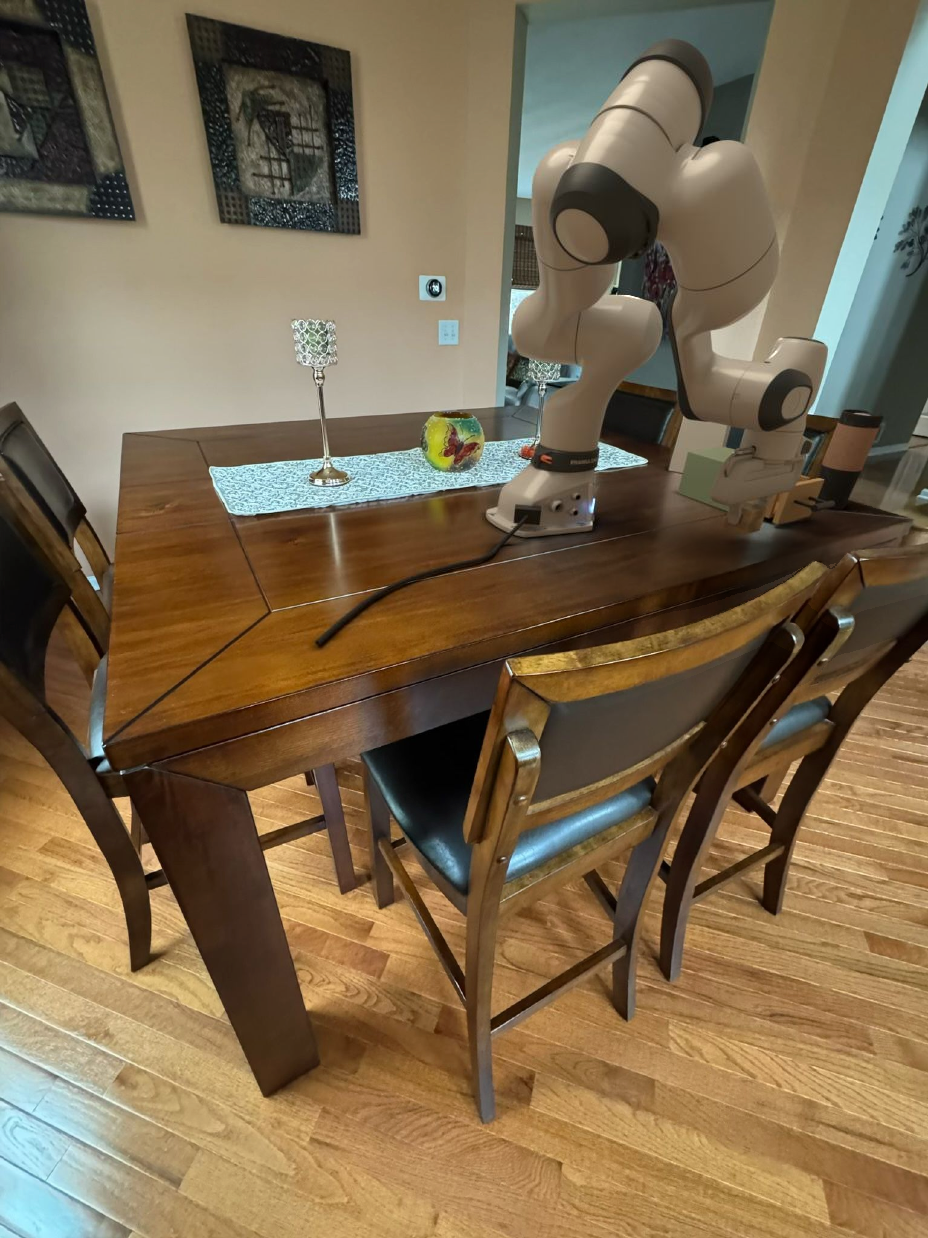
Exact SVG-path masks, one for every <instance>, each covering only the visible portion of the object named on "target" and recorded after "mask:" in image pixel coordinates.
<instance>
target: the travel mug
mask: <svg viewBox="0 0 928 1238" xmlns="http://www.w3.org/2000/svg"><path fill="white" fill-rule="evenodd" d="M884 417H885V414H883V413H879V414H872V413H870V412H869V411H868V410H866V409H865V410H864V409H856V408H855V409H853V408H850V409H849V408H847V409H843V410H842V411H841V414H840V416H839V419H838V421H837V424H836V426H835V428H834V429H835V430H834V431H833V434H832V437H831V439H830V442H829V444H828V447H827V449H826V452H825V454H824V457H823V460H822V461H821V465H820V468H819V471H818V473H817V475H816V479H817V478H821V479H824V482H823V485H822V487H821V490H820V493H819V495H818V498H817V499H821V500H824V501H834V502H835V505H834V507H832V508H828V509H827V510H834V511H835V510H837V511H838V510H839V511H840V510H844V508H845V507H846V505H847V503H848V501H849V499H850V496H851V494H852V493H853V490H854V488H855V486H856V483H857V481H858V479H859V477H860V475H861V474H862V471H863V468H864V466H865V463H866V460H867V459H868V456H869V453H870V452H871V449H872V446H873V444H874V442H875V439H876V436H877V434H878V432H879V429H880V427H881V425H882V422H883V419H884ZM815 504H818V502H816V503H815Z"/></svg>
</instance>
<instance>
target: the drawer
mask: <svg viewBox="0 0 928 1238" xmlns="http://www.w3.org/2000/svg"><path fill="white" fill-rule="evenodd" d="M823 482H824V479H821V478H817V477H816V478H813V479H811V477H809V476H806V475H802V474H801V475H800V478H799V480H798V482H797V484H796V485H795V487H794V488H793V489H792V490H791V491H789V492H785V493H781V494H776V495H773V496H772V499H771V501H770V502H769V504H768V505H767V506H766V507H767V511H766V513H765V516H764V518H767V519H772V518H773V519H772V523H773V524H776V525H780V524H785V523H788V522H792V521H796V520H797V521H798V520H800V519H805V518H808V517H811V516H812V513H816V512H820V511H824V510H829V509H828V508H832V507H834V505H835V502H834V501H824V500H821V499H817V498H818V495H819V493H820V490H821V487H822V485H823ZM756 500H757V499H755V500H750V502H753V503H755V502H756ZM816 502H818V504H815V503H816Z"/></svg>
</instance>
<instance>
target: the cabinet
mask: <svg viewBox="0 0 928 1238" xmlns="http://www.w3.org/2000/svg"><path fill="white" fill-rule="evenodd" d="M734 450H735V449H734V448H730V447H727V446H726V447H719V448H711V449H704V450H697V451H690V452H688V454H687V458H686V462H685V466H684V470H683V473H681V478H680V483H679V486H678V490H677V494H679V495H681V496H684V497H687V498H690V499H693V500H695V501H698V502H701V503H702V504H703V503H704V504H705V505H708V506H711V507H714V508H717V509H719V510H723V511H725V512H727V513H728V510H729V506H726V505H722V504H719V503H717V502H714V501H713V500H712V498H711V491H712V488H713V485H714V483H715V480H716V477H717V475H718V472H719V470H720V468H721V466H722V464H723V462H724V461H725V460H726V459H727V458H728V457H729V456H730V455H731V454H732V453H733V452H734Z"/></svg>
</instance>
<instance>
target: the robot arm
mask: <svg viewBox="0 0 928 1238" xmlns="http://www.w3.org/2000/svg"><path fill="white" fill-rule="evenodd" d="M712 74H713V73H712V71H711V68H710V65H709V63H708V61H707V60H706V58H705V56H704V55H703V54H702V52H701V51H700V50H699V49H698V48H697V47H695V46H694V44H693V45H692V44H691V43H690V42H688V41H686V40H682V39H679V38H668V39H664V40H663V39H662V40H659V41H657V42H656V43H654V44H652V45H651V46H650V47H648V48H647V49H646V50H645V51H643V53H641V55H639V56H638V57H637V58H636V59H635V60H634V61H633V62H632V63H631V65H630V66H629V67H628V68H627V69H626V71H625V72H624V74H623V75H622V77H621V79H620V80H619V82H618V84H617V86H616V88H615V89H614V90H613V91H612V93H611V94H610V95H609V97H608V98H607V99H606V100H605V102H604V104H603V105H602V106H601V108H600V109H599V111H598V113H597V114H596V115H595V117H594V118H593V120H592V122H591V123H590V125H589V128H588V130H587V132H586V133H585V135H584V137H583V139H578V138H577V139H568V140H565V141H563V142H560V143H558V144H556V145H555V146H553V147H552V148H551V149H549V150H548V151H547V152H546V153H545V155H544V156H543V157H542V158H541V159H540V161H539V163H538V165H537V167H536V168H535V171H534V174H533V178H532V184H531V226H532V235H533V243H534V248H535V254H536V260H537V266H538V274H539V275H538V276H539V285H538V287H537V288H536V289H535V291H533V292H532V293H531V294H529V295H527V296H526V297H524V298H523V299H522V300H521V302H520V303H518V305H517V307H516V309H515V311H514V313H513V316H512V319H511V325H510V326H511V327H510V334H511V340H512V343H513V346H514V348H515V350H516V352H517V353H518V354H519V355H520V356H521V357H524V358H527V359H530V360H533V361H536V362H539V363H543V364H552V365H563V366H564V365H565V366H575V367H576V366H578V367H581V371H580V375H579V377H578V379H577V380H576V382H573V383H571V384H568V385H566V386H563V387H561V388H559V389H557V390H555V391H553V392H552V393H551V394H550V395H549V396H548V397H547V399H546V400H545V402H544V405H543V411H542V419H541V428H540V429H541V430H540V437H539V441H538V442H537V444H536V447H535V448H533V447H530V446H529V445H523V446H522V448H521V450H520V452H521V453H520V454H521V456H522V457H525V458H527V459H530V463H529V464H528V465H527V466H525V467H524V468H523V469H522V470H521V471H520V472H518V473H517V475H515V476H514V477H513V478H512V479H510V480H509V481H508V482H506V484H505V485H503V486H502V487H501V491H500V494H499V497H498V501H497V506H495V507H492V508H488V509H486V512H485V519H487V521H488V522H489V523H491V524H492V525H493V526H495V527H497V528H498V529H500V530H502V531H503V532H506V533H507V534H506V535H505V536H504V537H503V538H502V539H501V540H500V541H499V542H498V543H497V545H496V546H494V548H493V549H492V550H491V551H489V553H487V554H485V555H482V556H479V557H476V558H472V559H468V560H463V561H458V562H454V563H450V564H447V565H443V566H439V567H436V568H432V569H429V570H425V571H422V572H418V573H416V574H413V575H410V576H408V577H405V578H403V579H401V580H398V581H395V582H394V583H392V584H390V585H387V586H385V587H383V588H381V589H380V590H378V591H376V592H374V593H373V594H372V595H370V596H368V597H367V598H365V599H364V600H362V601H361V602H360V603H359V604H357V605H356V606H355V607H353V609H351V610H349V612H347V613H346V614H345V615H343V616H342V617H341V618H339V620H338V621H336V622H335V623H334V624H333V625H332V626H331V627H330V628H329V629H327V630H326V631H325V632H324V633H323V634H322V635H320V636H319V638H317V639H316V640H315V642H314V643H315V645H316V646H321V645H322V644H323V643H324V642H326V640H327V639H329V638H330V637H331V636H332V635H333V634H334V633H335V632H336V631H337V630H339V629H340V628H341V627H342V626H343V625H344V624H345V623H347V622H348V621H349V620H350V619H351V618H353V616H355V615H356V614H357V613H359V612H360V611H361V610H362V609H364V608H366V606H367V605H369V604H371V602H373V601H375V600H376V599H378V598H379V597H381V596H383V595H385V594H386V593H388V592H390V591H392V590H394V589H397V588H398V587H401V586H403V585H405V584H407V583H410V582H413V581H415V580H418V579H421V578H424V577H427V576H430V575H434V574H438V573H441V572H442V573H443V572H445V571H449V570H452V569H455V568H460V567H465V566H469V565H474V564H477V563H481V562H483V561H487V560H488V559H490V558H492V557H493V556H494V555H496V554H497V552H498V551H499V550H500V548H502V546H504V544H506V543H507V542H508V540H509V539H511V537H512V536H517V537H521V538H533V537H543V536H553V535H563V534H570V533H571V534H572V533H573V534H574V533H582V532H591V531H592V530H593V527H594V523H593V522H594V521H595V518H596V517H595V512H594V511H595V510H594V508H595V503H596V502H595V501H596V498H594V489H595V487H594V486H595V471H596V470H595V469H596V468H597V467H598V463H599V459H600V451H601V450H600V447H599V443H600V438H601V437H600V436H601V431H602V427H603V423H604V420H605V419H604V418H605V414H606V410H607V408H608V405H609V403H610V401H611V398H612V396H613V395H614V393H615V392H616V390H617V389H618V387H619V386H620V384H621V383H623V382H624V380H625V379H626V378H627V377H628V376H630V375H631V374H632V373H634V372H635V371H636V370H638V369H639V368H641V367H642V366H644V365H645V364H647V362H649V360H650V359H651V358H652V357H653V356H654V355H655V354H656V351H657V349H658V348H659V346H660V343H661V340H662V337H663V330H664V329H663V327H664V326H663V317H662V314H661V311H660V309H659V308H658V306H657V305H656V303H655V302H652V301H650V300H646V299H643V298H640V297H635V296H632V295H626V294H625V295H624V294H606V293H607V291H608V290H609V289H610V287H611V285H612V284H613V281H614V279H615V276H616V271H617V264H618V263H620V262H622V261H624V260H626V259H628V260H632V261H633V260H634V261H635V260H639V259H641V258H642V257H644V256H645V255H647V254H648V253H649V252H650V251H651V249H652V248H653V246H654V245H655V243H656V242H658V243H659V244H660V245H661V246H662V247H663V248H664V250H665V251H666V254H667V256H668V258H669V261H670V265H671V268H672V272H673V274H674V279H675V283H676V287H675V288H674V289H673V291H672V293H671V295H670V298H669V301H668V305H667V311H666V312H667V313H666V314H667V316H666V319H667V330H668V336H669V342H670V348H671V353H672V358H673V364H674V369H675V376H676V393H675V395H676V404H677V406H678V408H679V409H678V410H679V411H680V412H681V414H682V417H685V418H687V419H689V420H695V421H704V422H713V423H717V424H722V425H727V426H731V427H732V428H736V429H744V431H743V434H742V438H741V441H740V444H739V448H736V449H734V452H733V453H732V454H731V455H730V456H729V457H728V458H727V459H726V460H725V461H724V462H723V464H722V466H721V468H720V470H719V472H718V475H717V477H716V480H715V483H714V485H713V488H712V491H711V498H712V500H713V501H714V502H717V503H719V504H722V505H726V506H729V510H730V515H729V519H728V522H729V523H732V524H738V523H741V521H742V518H743V514H741V507H743V506H744V504H745V502H746V501H750V500H755V499H757V500H756V502H755V503H756V504H759V505H762V506H764V507H766V506H767V505H768V504H769V502H770V501H771V499H772V496H773V495H776V494H781V493H785V492H789V491H791V490H792V489H793V488H794V487H795V485H796V484H797V482H798V480H799V478H800V475H802V473H803V470H804V468H805V466H806V462H807V459H808V458H807V456H808V455H809V454H811V453H812V451H813V450H814V446H815V441H813V440H812V439H809V438H808V437H806V436H804V433H805V431H806V426H807V417H808V414H809V412H810V410H811V408H813V406H814V404H815V402H816V400H817V397H818V394H819V391H820V387H821V385H822V382H823V378H824V374H825V370H826V366H827V361H828V353H829V347H828V345H826V344H825V343H824V342H823V341H822V340H821V341H820V340H817V339H815V338H808V337H803V336H784V337H783V336H782V337H780V338H778V339H777V340H776V341H775V343H774V345H773V347H772V349H771V351H770V354H769V356H768V358H767V359H764V360H763V361H752V360H742V359H736V358H729V357H726V356H723V355H720V354H718V353H716V352H715V351H714V350H713V341H712V332H711V331H717V330H722V329H724V328H728V327H730V326H732V325H734V324H736V323H737V322H739V321H741V320H742V319H743V318H746V317H747V316H748V315H749V314H751V313H752V312H753V311H754V310H755V309H756V308H757V307H758V306H759V305H760V304H761V303H762V301H764V299H765V298H766V296H767V295H768V293H770V290H771V289H772V287H773V285H774V282H775V280H776V278H777V275H778V273H779V266H780V244H779V240H778V233H777V227H776V222H775V221H776V220H775V217H774V211H773V206H772V202H771V199H770V195H769V190H768V188H767V185H766V182H765V179H764V177H763V175H762V172H761V169H760V167H759V165H758V163H757V160H756V158H755V156H754V154H753V152H752V151H751V150H750V148H749V147H748V146H747V145H746V144H744V143H742V142H740V141H737V140H734V139H733V140H731V139H727V140H723V139H722V140H719V141H715V142H711V143H709V144H707V145H704V146H703V147H699V146H695V144H696V143H697V142H698V140H699V138H700V137H701V134H702V132H703V129H704V127H705V125H706V122H707V120H708V117H709V113H710V110H711V106H712V102H713V97H714V81H713V75H712ZM639 251H641V252H639Z"/></svg>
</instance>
